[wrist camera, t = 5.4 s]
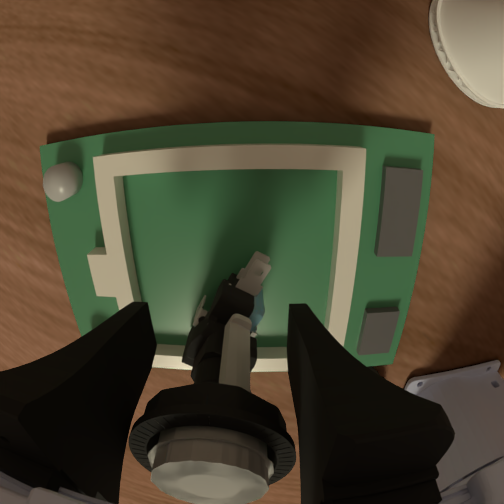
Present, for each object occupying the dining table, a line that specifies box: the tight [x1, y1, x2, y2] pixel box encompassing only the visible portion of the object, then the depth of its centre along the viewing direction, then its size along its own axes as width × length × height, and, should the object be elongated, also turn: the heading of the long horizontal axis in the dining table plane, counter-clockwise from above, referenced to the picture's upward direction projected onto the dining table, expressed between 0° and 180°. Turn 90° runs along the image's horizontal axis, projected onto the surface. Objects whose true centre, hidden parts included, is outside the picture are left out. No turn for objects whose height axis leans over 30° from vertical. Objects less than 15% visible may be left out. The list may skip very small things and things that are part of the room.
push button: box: [129, 251, 296, 504], centre depth 12 cm, size 7×5×10 cm
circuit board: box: [40, 121, 434, 372], centre depth 16 cm, size 20×14×2 cm
